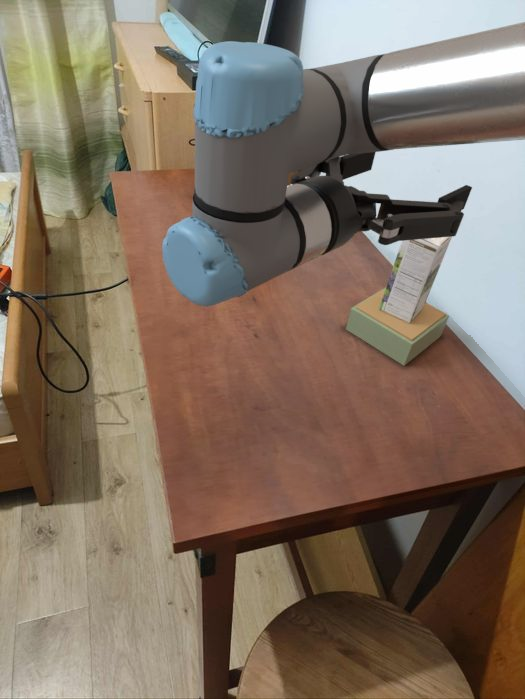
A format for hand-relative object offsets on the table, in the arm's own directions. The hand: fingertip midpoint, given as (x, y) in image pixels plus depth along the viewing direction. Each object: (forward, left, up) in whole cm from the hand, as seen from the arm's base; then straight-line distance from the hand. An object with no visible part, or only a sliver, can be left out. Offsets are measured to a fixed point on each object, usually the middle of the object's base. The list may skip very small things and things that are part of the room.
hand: (416, 176), depth 63 cm
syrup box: (0, -10, -25) cm, 27 cm away
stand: (0, -10, -30) cm, 32 cm away
